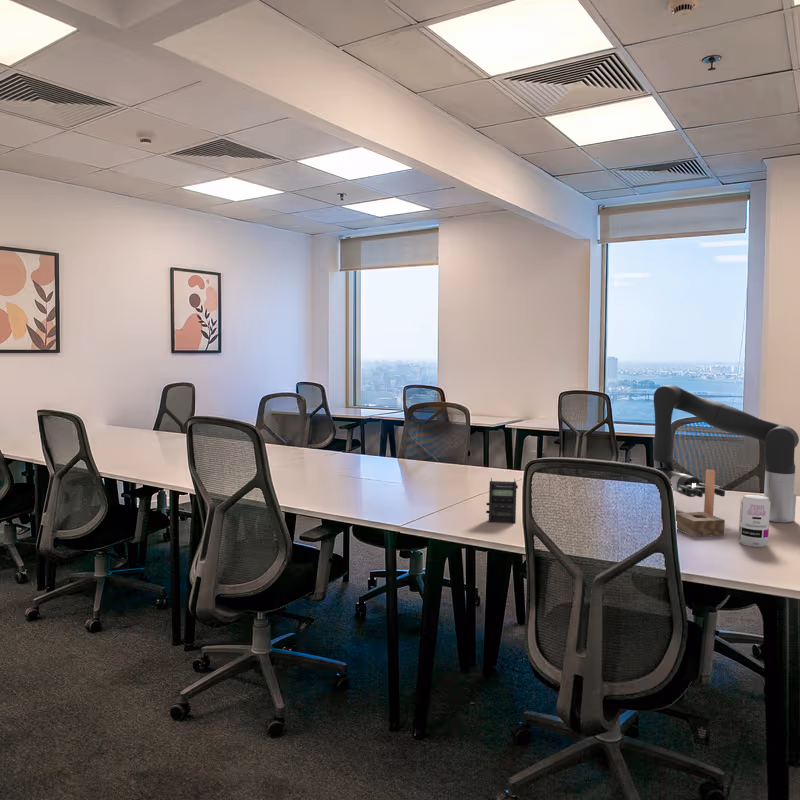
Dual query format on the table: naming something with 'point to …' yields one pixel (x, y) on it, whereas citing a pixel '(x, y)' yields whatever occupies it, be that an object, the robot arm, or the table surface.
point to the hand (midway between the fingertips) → (712, 493)
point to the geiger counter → (502, 501)
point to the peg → (709, 492)
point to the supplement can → (754, 520)
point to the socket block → (700, 524)
